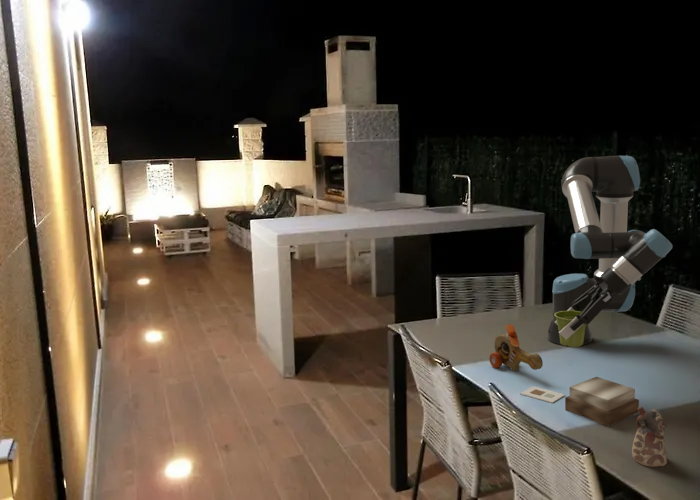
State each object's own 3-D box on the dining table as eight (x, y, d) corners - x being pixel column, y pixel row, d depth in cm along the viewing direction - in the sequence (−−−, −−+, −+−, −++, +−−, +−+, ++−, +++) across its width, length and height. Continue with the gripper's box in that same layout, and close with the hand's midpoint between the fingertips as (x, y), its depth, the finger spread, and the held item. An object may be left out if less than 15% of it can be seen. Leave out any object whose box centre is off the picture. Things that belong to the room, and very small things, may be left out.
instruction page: (520, 394, 183) (520, 392, 183) (533, 387, 188) (533, 385, 188) (552, 403, 176) (552, 401, 176) (564, 395, 180) (564, 394, 180)
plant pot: (549, 340, 188) (549, 311, 186) (580, 337, 188) (580, 309, 187) (562, 350, 178) (562, 320, 177) (594, 347, 179) (595, 317, 178)
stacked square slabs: (565, 409, 171) (565, 386, 170) (595, 397, 178) (595, 375, 177) (608, 426, 160) (608, 401, 159) (638, 412, 167) (639, 388, 166)
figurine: (661, 470, 139) (663, 418, 137) (627, 460, 143) (628, 410, 141) (670, 457, 144) (673, 407, 142) (638, 448, 148) (639, 399, 147)
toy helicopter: (506, 360, 211) (506, 319, 209) (551, 379, 193) (551, 335, 191) (486, 364, 208) (486, 323, 206) (530, 385, 189) (530, 340, 187)
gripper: (639, 295, 167) (575, 352, 173) (621, 276, 188) (564, 328, 194) (618, 275, 167) (555, 333, 173) (603, 259, 188) (546, 311, 194)
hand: (560, 330), depth 183 cm, fingers closed on plant pot, 9 cm apart
